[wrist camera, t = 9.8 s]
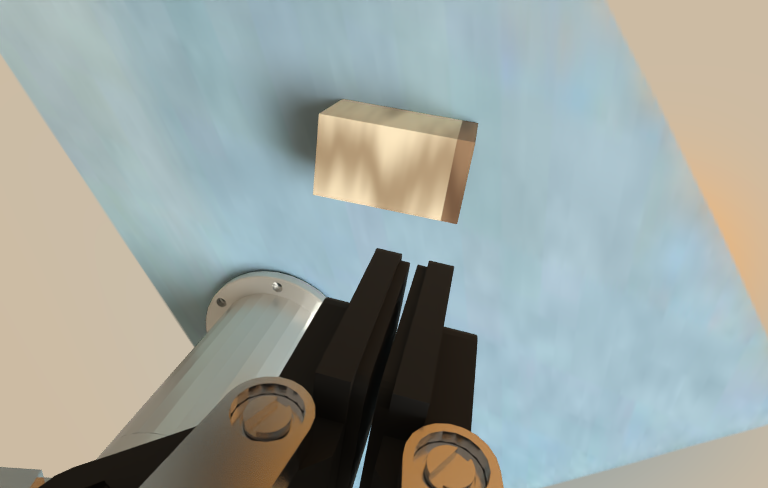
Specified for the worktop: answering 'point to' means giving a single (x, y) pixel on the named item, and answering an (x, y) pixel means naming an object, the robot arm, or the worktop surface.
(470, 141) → the birch block
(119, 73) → the worktop surface
